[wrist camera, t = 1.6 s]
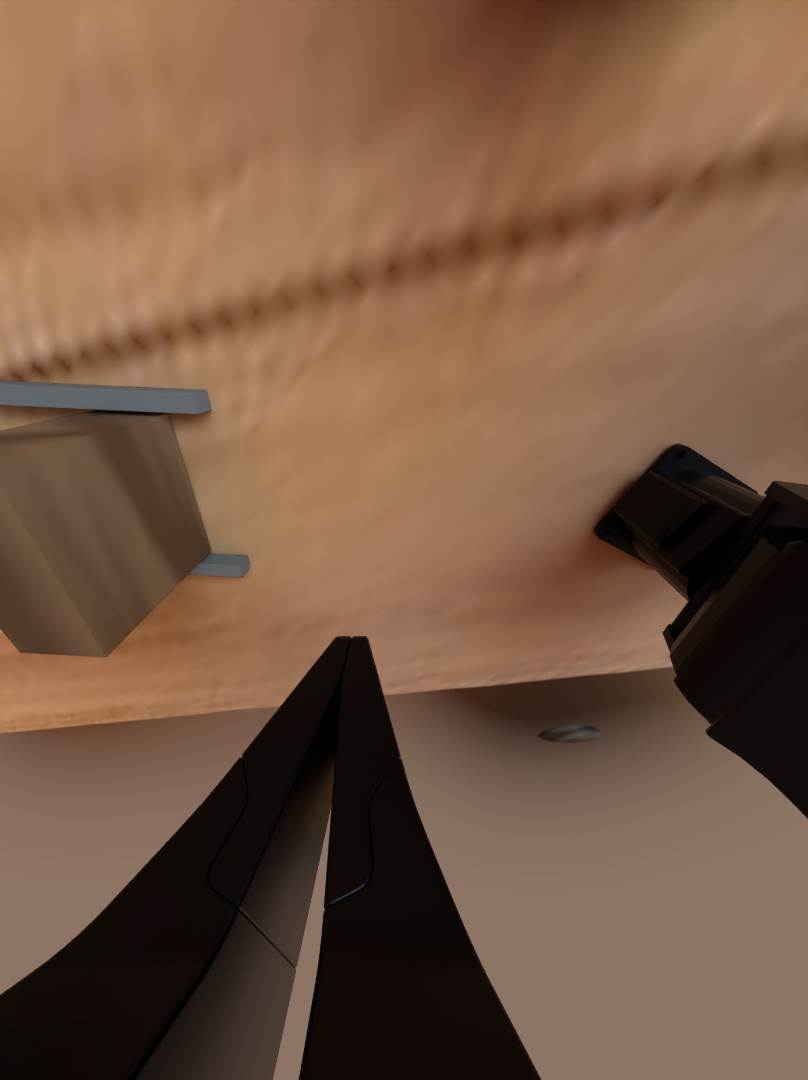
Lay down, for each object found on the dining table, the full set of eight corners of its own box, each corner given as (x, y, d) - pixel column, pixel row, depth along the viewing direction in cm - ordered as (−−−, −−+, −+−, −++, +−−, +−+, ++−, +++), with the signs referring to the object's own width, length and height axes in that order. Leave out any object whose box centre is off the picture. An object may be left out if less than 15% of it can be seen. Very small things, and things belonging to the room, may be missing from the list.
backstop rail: (200, 364, 17) (106, 374, 12) (253, 580, 24) (209, 644, 19) (-206, 346, 17) (-471, 348, 12) (-33, 566, 24) (-153, 626, 19)
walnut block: (168, 413, 18) (-15, 466, 10) (211, 550, 23) (106, 657, 15) (96, 410, 18) (-139, 460, 11) (153, 547, 23) (20, 652, 15)
